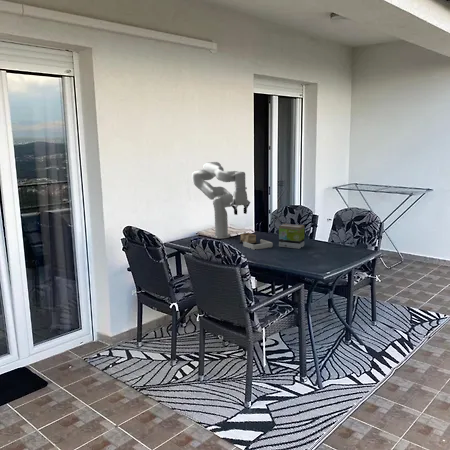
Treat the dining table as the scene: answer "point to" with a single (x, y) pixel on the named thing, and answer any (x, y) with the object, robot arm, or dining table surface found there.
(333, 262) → the dining table surface
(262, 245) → the bay
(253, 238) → the cart
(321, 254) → the dining table surface
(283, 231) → the tea box
